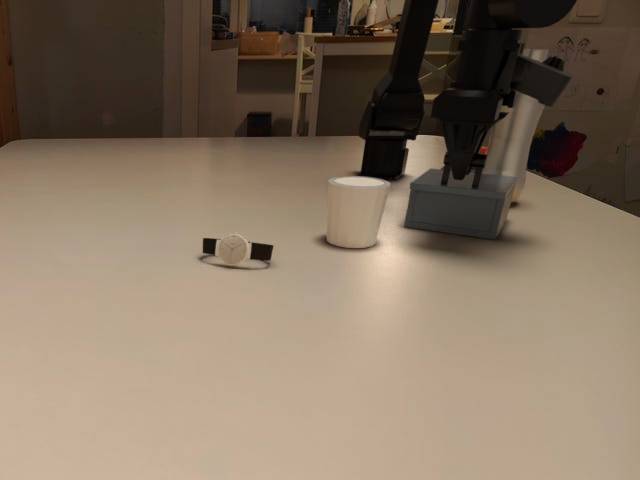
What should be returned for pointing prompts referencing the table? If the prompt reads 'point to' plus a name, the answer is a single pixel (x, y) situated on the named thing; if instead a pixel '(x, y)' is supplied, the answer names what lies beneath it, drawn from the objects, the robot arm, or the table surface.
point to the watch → (236, 249)
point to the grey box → (457, 213)
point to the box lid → (466, 181)
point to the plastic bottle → (515, 135)
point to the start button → (483, 150)
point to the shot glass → (355, 210)
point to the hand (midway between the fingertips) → (461, 177)
